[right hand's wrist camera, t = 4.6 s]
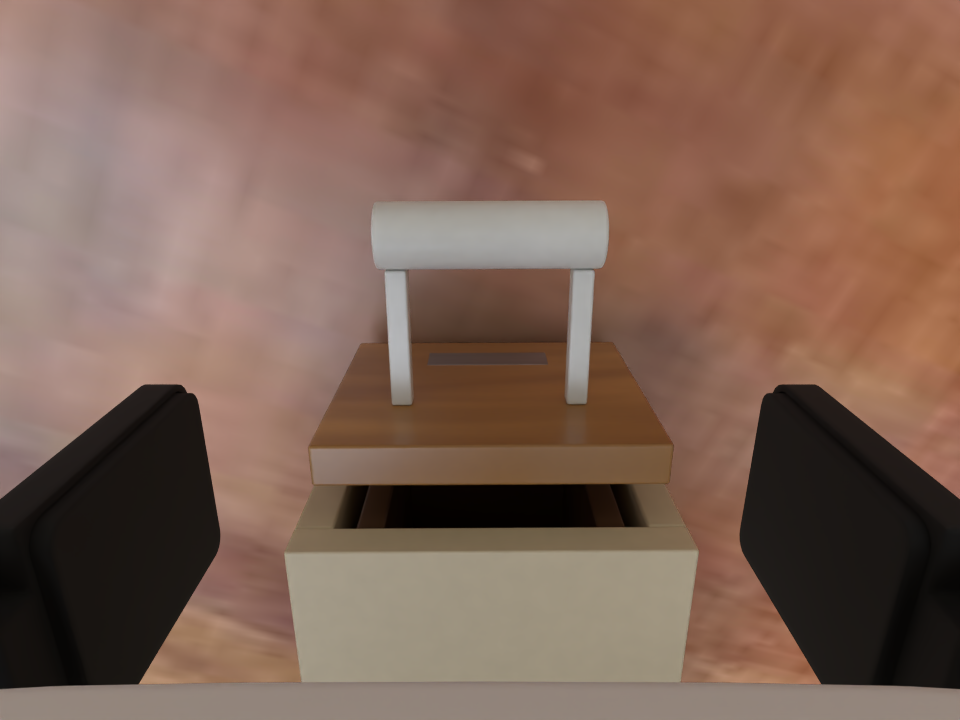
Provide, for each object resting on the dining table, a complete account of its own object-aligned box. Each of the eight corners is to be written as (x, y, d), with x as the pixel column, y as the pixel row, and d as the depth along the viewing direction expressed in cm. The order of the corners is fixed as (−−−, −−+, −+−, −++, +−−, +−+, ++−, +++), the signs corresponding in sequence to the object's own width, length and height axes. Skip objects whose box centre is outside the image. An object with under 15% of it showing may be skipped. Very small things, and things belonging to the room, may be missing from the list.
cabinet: (353, 392, 26) (282, 552, 16) (619, 391, 26) (700, 550, 16) (376, 677, 31) (332, 922, 22) (596, 676, 31) (648, 920, 22)
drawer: (348, 181, 22) (281, 217, 14) (625, 180, 22) (701, 215, 15) (381, 630, 29) (347, 812, 21) (592, 629, 29) (632, 810, 21)
